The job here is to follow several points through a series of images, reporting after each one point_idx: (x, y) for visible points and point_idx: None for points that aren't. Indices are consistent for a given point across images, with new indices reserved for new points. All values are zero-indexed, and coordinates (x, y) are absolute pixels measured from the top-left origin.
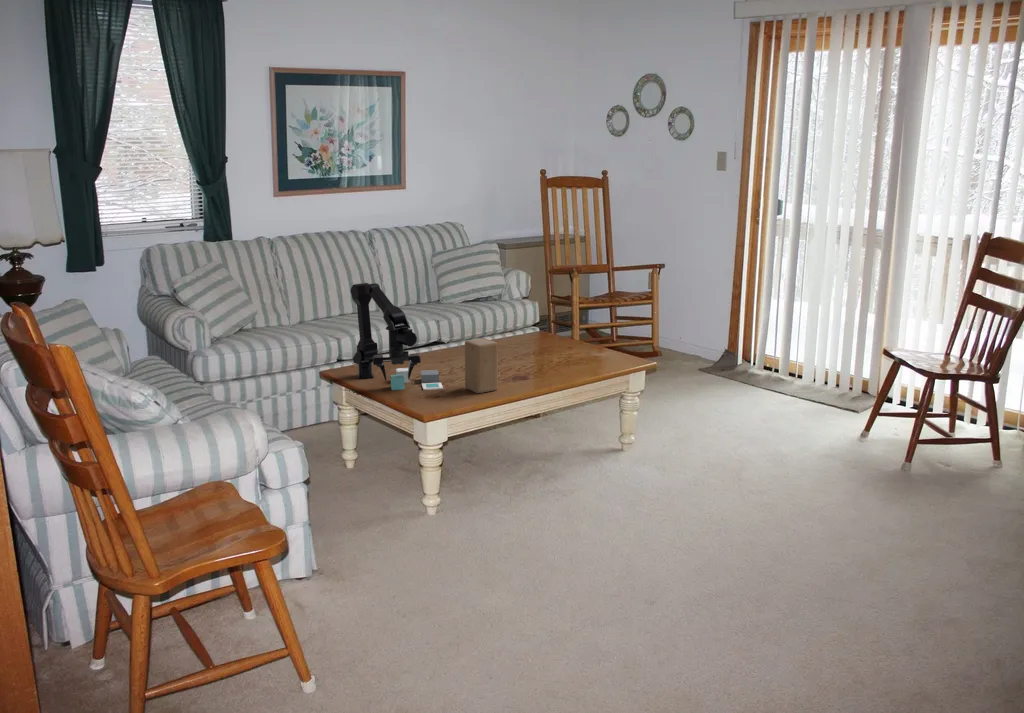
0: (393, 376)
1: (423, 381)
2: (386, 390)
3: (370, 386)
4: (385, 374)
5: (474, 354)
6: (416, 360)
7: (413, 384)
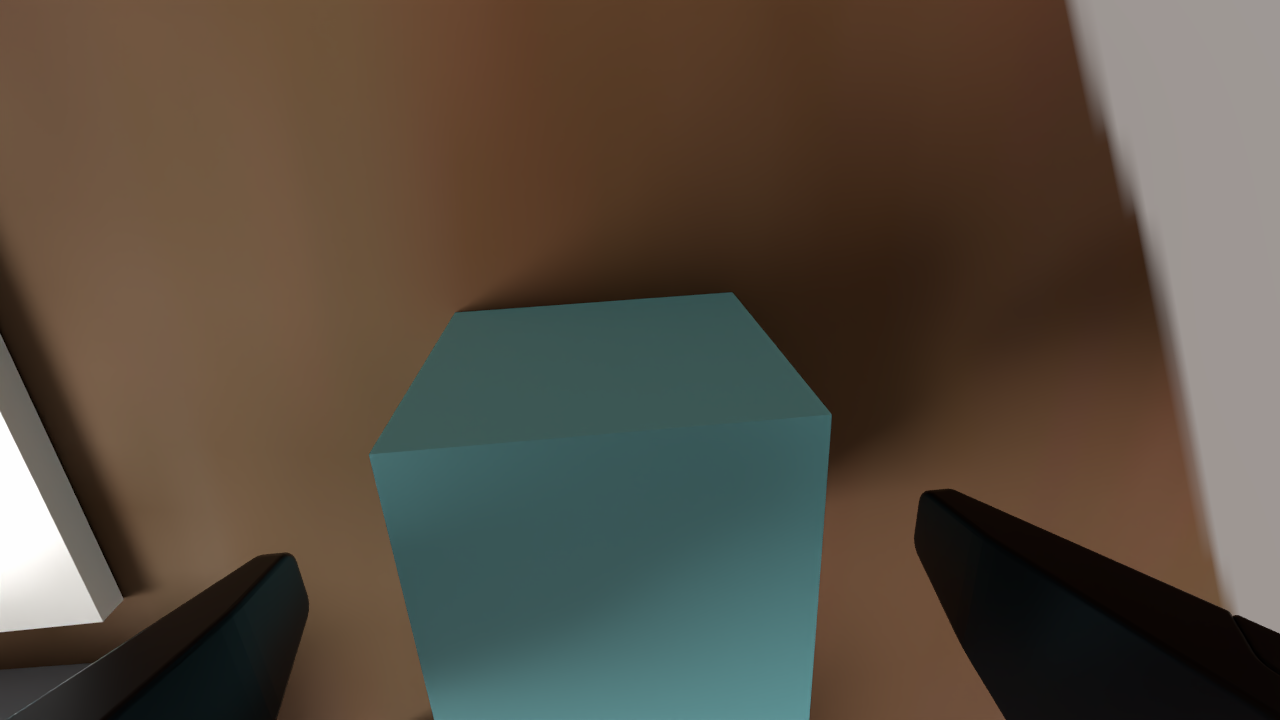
0: (738, 617)
1: None
2: (844, 287)
3: None
4: (1080, 591)
5: None
6: None
7: None
